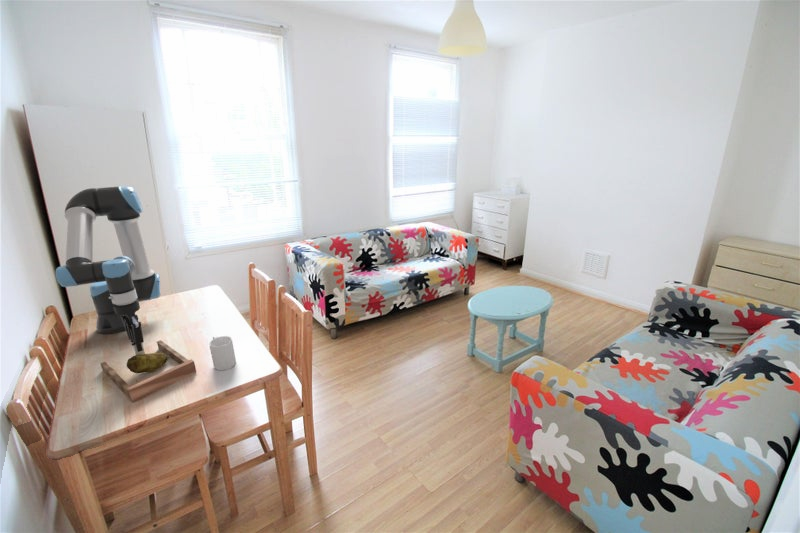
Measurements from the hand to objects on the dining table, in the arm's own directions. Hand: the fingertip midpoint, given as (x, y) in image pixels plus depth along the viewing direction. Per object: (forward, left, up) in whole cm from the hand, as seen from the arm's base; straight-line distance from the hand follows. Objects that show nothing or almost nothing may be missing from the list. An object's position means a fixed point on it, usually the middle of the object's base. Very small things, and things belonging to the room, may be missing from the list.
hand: (141, 357), depth 142 cm
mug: (+22, +20, -5) cm, 30 cm away
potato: (+4, +1, -5) cm, 7 cm away
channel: (+4, 0, -5) cm, 6 cm away
